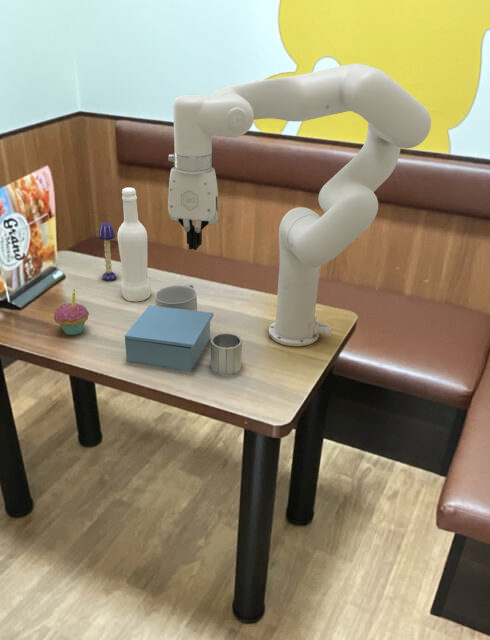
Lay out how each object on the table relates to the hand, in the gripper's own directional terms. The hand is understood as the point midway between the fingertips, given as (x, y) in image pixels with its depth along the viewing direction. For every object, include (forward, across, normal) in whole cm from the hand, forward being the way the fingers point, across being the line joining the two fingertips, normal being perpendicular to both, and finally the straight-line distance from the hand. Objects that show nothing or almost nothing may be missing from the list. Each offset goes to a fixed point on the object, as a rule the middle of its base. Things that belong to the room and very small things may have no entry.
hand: (194, 247), depth 134 cm
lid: (+18, -5, -5) cm, 19 cm away
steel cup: (+25, +10, -8) cm, 28 cm away
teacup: (+25, -8, +12) cm, 29 cm away
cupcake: (+25, -32, -2) cm, 41 cm away
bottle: (+25, -24, +21) cm, 41 cm away
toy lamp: (+25, -36, +30) cm, 53 cm away
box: (+25, -5, -5) cm, 26 cm away
